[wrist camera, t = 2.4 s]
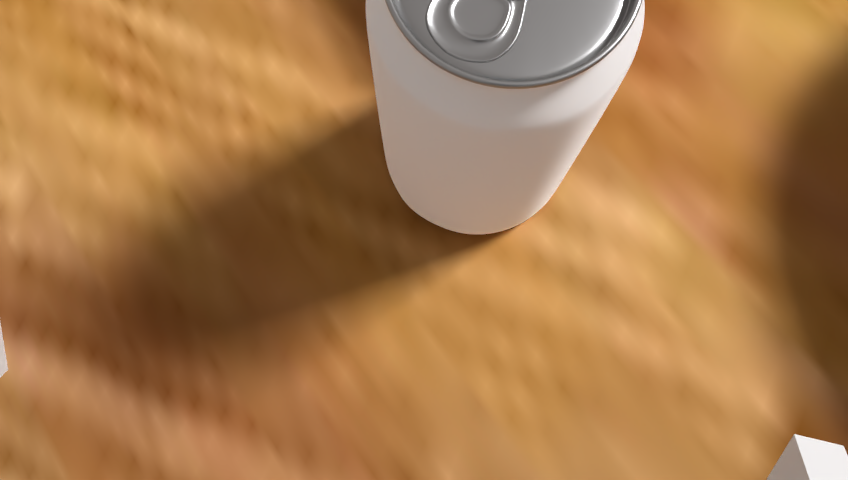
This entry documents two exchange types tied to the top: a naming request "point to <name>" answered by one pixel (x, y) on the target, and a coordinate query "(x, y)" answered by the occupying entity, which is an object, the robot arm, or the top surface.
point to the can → (493, 98)
